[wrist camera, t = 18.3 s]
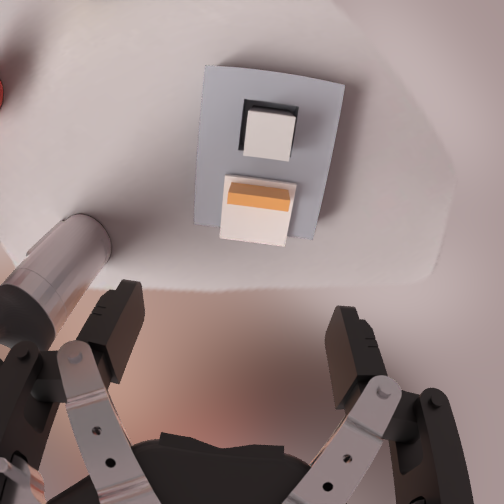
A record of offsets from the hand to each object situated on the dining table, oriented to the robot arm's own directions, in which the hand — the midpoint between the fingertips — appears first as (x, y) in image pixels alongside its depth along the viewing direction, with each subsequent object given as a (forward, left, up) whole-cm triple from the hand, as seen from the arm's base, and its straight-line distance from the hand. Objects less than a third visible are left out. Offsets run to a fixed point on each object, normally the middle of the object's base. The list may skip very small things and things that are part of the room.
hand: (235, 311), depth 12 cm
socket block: (+1, +1, -26) cm, 26 cm away
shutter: (+1, -5, -22) cm, 23 cm away
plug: (+1, +4, -26) cm, 26 cm away
